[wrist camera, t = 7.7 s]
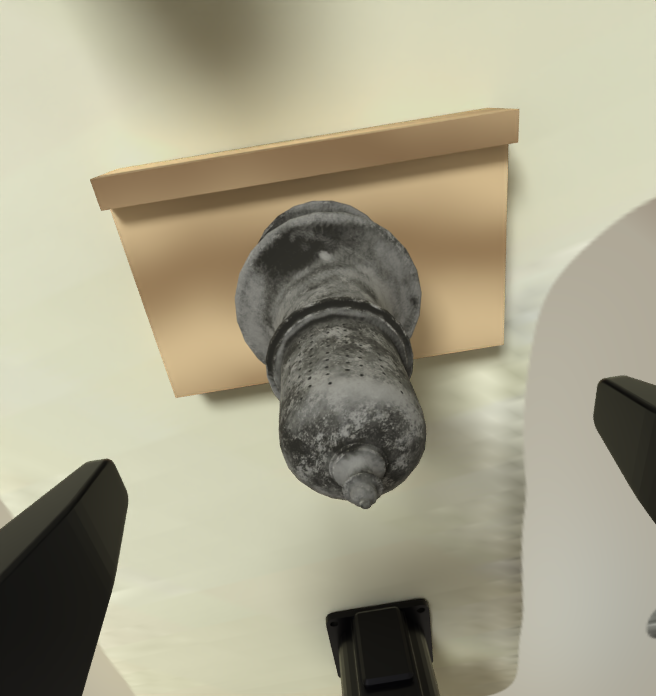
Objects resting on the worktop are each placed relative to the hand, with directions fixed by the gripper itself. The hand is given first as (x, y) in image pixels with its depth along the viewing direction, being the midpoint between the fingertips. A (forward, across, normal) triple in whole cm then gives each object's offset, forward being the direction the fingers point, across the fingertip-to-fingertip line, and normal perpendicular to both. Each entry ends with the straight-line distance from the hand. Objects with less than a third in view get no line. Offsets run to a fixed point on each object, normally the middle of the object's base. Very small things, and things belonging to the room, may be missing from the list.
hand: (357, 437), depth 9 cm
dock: (+12, 0, 0) cm, 13 cm away
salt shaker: (+11, 0, 0) cm, 11 cm away
